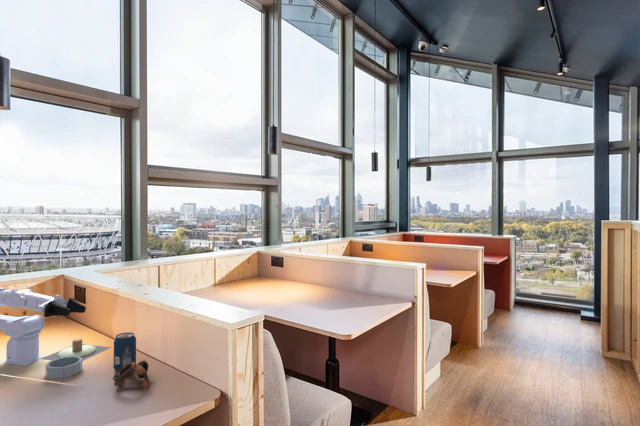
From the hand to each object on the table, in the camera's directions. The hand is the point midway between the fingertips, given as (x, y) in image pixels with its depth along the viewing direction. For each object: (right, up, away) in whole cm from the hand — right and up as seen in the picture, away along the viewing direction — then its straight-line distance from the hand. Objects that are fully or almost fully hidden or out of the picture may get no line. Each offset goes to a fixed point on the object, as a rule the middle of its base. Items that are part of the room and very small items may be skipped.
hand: (77, 311), depth 135 cm
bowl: (0, -19, -7) cm, 21 cm away
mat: (-6, -19, +10) cm, 22 cm away
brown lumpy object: (+27, -20, -14) cm, 37 cm away
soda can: (+19, -20, -3) cm, 27 cm away
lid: (-6, -18, +10) cm, 22 cm away
